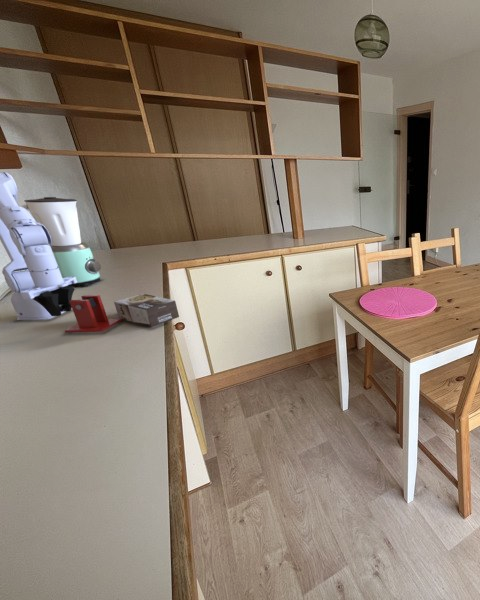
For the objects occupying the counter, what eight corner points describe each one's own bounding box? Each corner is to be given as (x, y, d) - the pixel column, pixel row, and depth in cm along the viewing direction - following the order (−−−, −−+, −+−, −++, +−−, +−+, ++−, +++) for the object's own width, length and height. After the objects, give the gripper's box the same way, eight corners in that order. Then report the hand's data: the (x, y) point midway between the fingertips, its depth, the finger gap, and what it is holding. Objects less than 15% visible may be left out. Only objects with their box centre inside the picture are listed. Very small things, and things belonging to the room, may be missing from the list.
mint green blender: (113, 278, 140) (87, 196, 128) (93, 287, 128) (62, 198, 115) (63, 280, 136) (30, 196, 124) (37, 290, 124) (-2, 198, 111)
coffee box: (119, 319, 101) (150, 329, 95) (113, 301, 99) (145, 309, 93) (149, 310, 109) (180, 318, 103) (144, 292, 107) (176, 300, 101)
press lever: (51, 314, 91) (45, 305, 90) (60, 310, 94) (55, 301, 93) (90, 309, 92) (85, 300, 91) (98, 305, 95) (93, 296, 93)
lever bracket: (66, 334, 91) (53, 303, 88) (88, 322, 99) (77, 293, 95) (103, 333, 92) (92, 302, 89) (122, 321, 100) (113, 293, 96)
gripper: (34, 276, 82) (53, 323, 86) (81, 262, 95) (95, 304, 100) (4, 276, 81) (25, 324, 86) (55, 262, 94) (71, 304, 99)
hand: (61, 313), depth 93 cm, fingers closed on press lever, 3 cm apart
